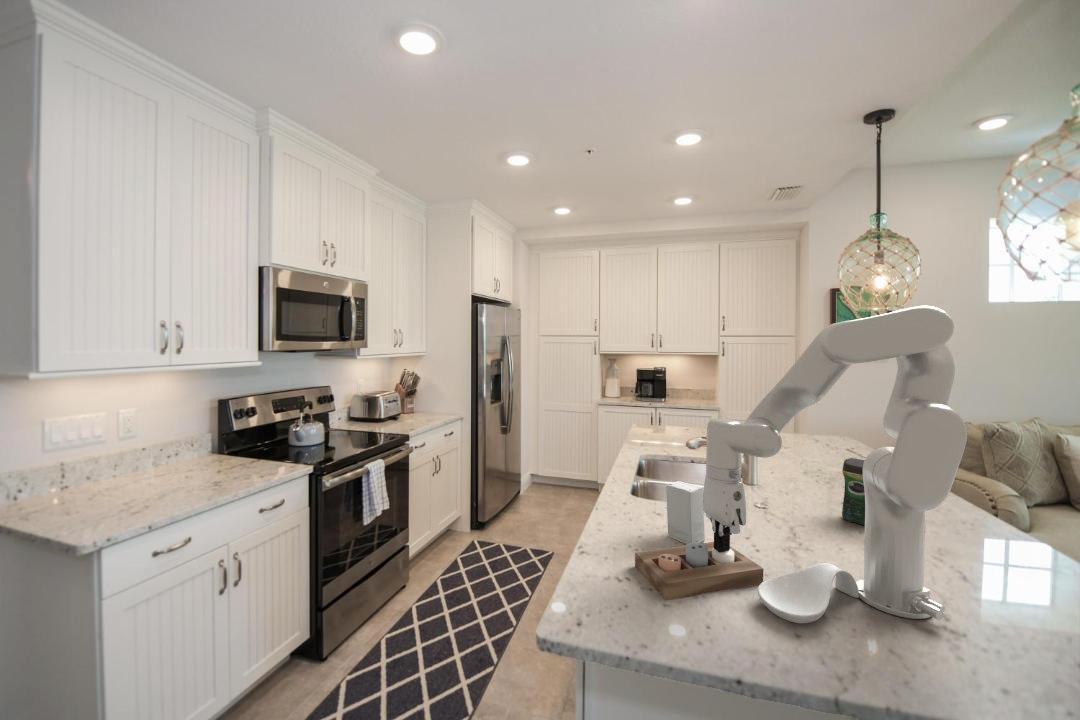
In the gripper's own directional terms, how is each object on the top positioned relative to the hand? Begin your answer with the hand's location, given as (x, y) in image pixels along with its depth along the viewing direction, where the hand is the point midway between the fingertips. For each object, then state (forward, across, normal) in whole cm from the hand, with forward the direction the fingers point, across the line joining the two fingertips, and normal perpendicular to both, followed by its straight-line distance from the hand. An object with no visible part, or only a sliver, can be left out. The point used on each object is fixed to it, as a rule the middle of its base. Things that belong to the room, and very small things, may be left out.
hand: (721, 549), depth 100 cm
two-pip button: (+3, 0, +7) cm, 7 cm away
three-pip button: (+5, 0, +14) cm, 15 cm away
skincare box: (+5, +17, -1) cm, 18 cm away
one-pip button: (+5, 0, 0) cm, 5 cm away
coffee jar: (+5, +14, -59) cm, 61 cm away
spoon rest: (+5, -16, -9) cm, 19 cm away
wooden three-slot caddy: (+5, 0, +7) cm, 8 cm away
